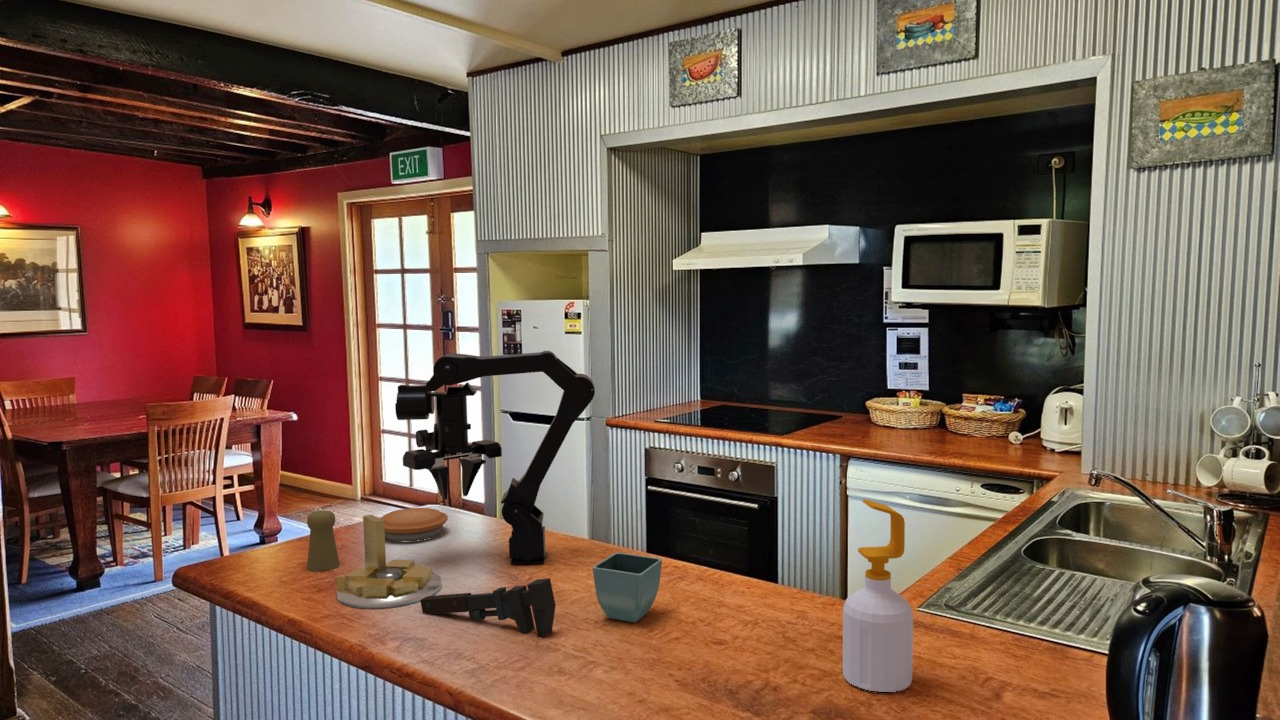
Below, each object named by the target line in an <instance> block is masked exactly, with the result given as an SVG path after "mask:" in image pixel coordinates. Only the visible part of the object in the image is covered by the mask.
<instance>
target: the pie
mask: <svg viewBox="0 0 1280 720" xmlns="http://www.w3.org/2000/svg"><path fill="white" fill-rule="evenodd" d="M379 518H380V519H382V520H384V532H385V539H387V540H388V539H389V541H390V540H391V542H394V541H417V540H423V541H425V540H424V539H427V540H429V539H428V538H431V539H433V538H435V537H437V536H438V535H439V534H440V532H441V530H442V529H443V527H444V524H446V522H447V521H448V520H449V517H448V514H447V513H445V512H442V511H440V510H439V509H436V508H431V507H410V508H409V507H408V508H403V509H397V510H393V511H390V512H387V513H385V514H384V515H383V516H382V517H379ZM434 536H435V537H434ZM432 537H433V538H432ZM417 542H418V541H417Z"/></svg>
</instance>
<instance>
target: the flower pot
mask: <svg viewBox="0 0 1280 720" xmlns="http://www.w3.org/2000/svg"><path fill="white" fill-rule="evenodd" d="M662 564H663V559H662V558H659V557H652V556H646V555H645V556H644V555H637V554H631V553H625V552H624V553H623V552H615V553H612V554H610V556H609V555H608V557H606V558H605V559H604V560H602V561H600V562H598V563H597V564H595V565H594V566H592V573H593V581H594V587H595V594H596V598H597V601H598V604H599V606H600V608H601V610H602V611H603V613H604V614H605V615H606V617H607V618H608V619H611V620H618V621H623V622H629V623H637V622H638V621H640V619H642V618H643V617H644V616H645V615H647V614H648V613H649V611H650V610H651V608H652V606H653V604H654V603H655V600H656V597H657V595H658V592H659V587H660V582H661V581H660V580H661V572H662Z"/></svg>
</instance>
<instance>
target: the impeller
mask: <svg viewBox="0 0 1280 720" xmlns="http://www.w3.org/2000/svg"><path fill="white" fill-rule="evenodd" d="M376 574H377V578H392V579H394V581H395V580H399V579H402V570H401V569H397V568H389V569H384V570H380V571H378V572H377V573H376ZM431 574H432V579H431V580H430V581H429V582H428V583H427V584H426V585H425V586H424V587H418V590H414V591H410V592H406V593H402V594H398V595H394V594H392V593H390V594H389V595H388V596H362V593H361V594H357V595H356V594H355V593H353V592H352V591H350V590H349V589H347V583H346V582H347V580H346V575H345V574H342V575H338V574H337V576H336V598H337V602H339V603H341V604H343V605H345V606H347V607H350V608H356V609H363V610H364V609H365V610H378V609H380V610H384V609H393V608H400V607H404V606H409V605H413V604H417V603H421V602H420V600H421V599H423V598H425V597H427V596H436V594H438V593H439V591H440V590H441V588H442V578H441V576H440V575H439V574H437V573H435V572H433V571H431Z"/></svg>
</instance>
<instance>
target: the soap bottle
mask: <svg viewBox="0 0 1280 720" xmlns="http://www.w3.org/2000/svg"><path fill="white" fill-rule="evenodd" d="M862 503H863V504H865V506H867V507H869V508H870V509H872V510H875V511H878V512H882V513H886V514H889V516H890V538H889V543H888V544H887V545H884V546H864V547H858V548H857V552H858V553H859V555H861V556H862V557H863V558H864V559H866V560H867V562H869V563H871V568H869V569H868V568H867V569H866V570H865V571H864V572H865V573H864V574H865V575H864V580H865V581H864V586H863V588H860V589H858V590H856V591H854V592H852V594H850V595H848V597H847V598H846V599H845V602H844V605H843V607H842V674H843V677H844V680H845V679H846V680H845V681H846V682H848V683H849V684H850V685H851V684H852V685H851V686H853V685H854V686H853V687H855V686H857V687H859V688H858V689H860V688H862V689H865V690H864V691H866V690H869V691H868V692H870V691H879V692H893V693H896V691H898V692H901V691H905V689H908V688H909V687H910V686H911V685H912V681H913V657H914V656H913V652H914V650H913V649H914V648H913V645H914V643H913V642H914V637H913V636H914V612H913V609H912V606H911V605H910V602H909V601H908V600H907V599H905V597H904V596H903V595H901V594H900V593H898V592H896V591H895V590H893V589H892V588H891V587H892V586H891V585H892V583H891V581H892V579H891V578H892V577H891V575H892V574H891V572H890V571H889V570H887V569H885V565H886V564H888V563H889V561H890V560H891V559H892V560H893V559H899V558H901V557H902V556H903V555H904V553H905V538H906V537H905V536H906V535H905V533H906V531H905V530H906V528H905V527H906V526H905V525H906V522H905V518H904V517H903V515H902V514H900V513H899V512H898V511H896V510H894V509H893V508H892V507H891V506H888V505H887V504H884V503H880V502H878V501H872V500H870V499H865V498H864V499H863V500H862ZM857 687H856V688H857ZM862 689H861V690H862Z"/></svg>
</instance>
